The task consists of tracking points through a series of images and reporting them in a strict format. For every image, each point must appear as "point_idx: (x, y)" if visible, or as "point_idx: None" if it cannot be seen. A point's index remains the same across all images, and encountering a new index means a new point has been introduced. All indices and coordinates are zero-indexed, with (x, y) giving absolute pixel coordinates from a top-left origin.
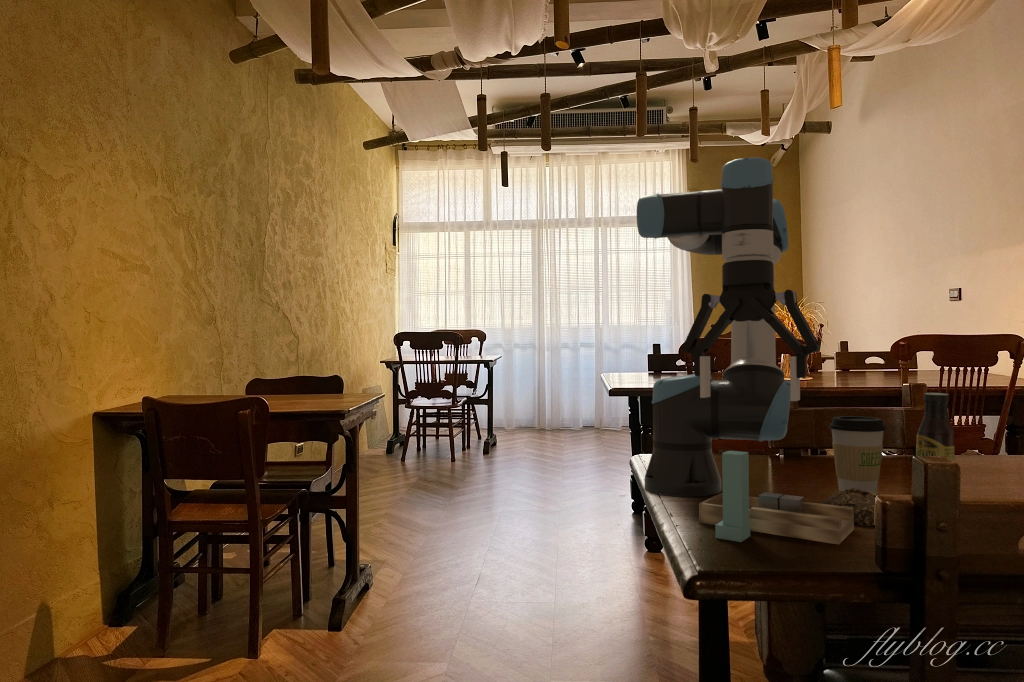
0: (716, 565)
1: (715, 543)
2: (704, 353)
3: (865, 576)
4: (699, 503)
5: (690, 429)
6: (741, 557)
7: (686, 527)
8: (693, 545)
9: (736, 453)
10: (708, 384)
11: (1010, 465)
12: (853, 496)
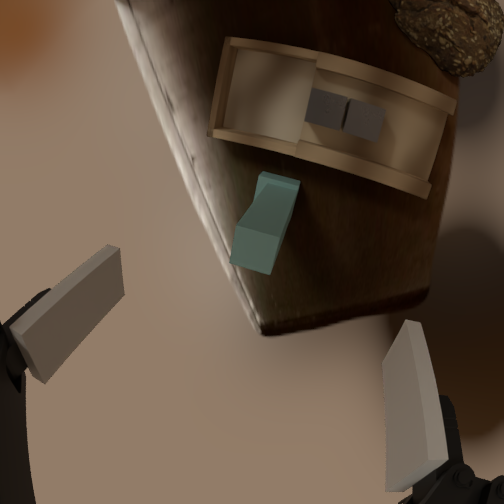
0: (274, 308)
1: None
2: (7, 346)
3: (417, 301)
4: (207, 135)
5: None
6: (297, 277)
7: (207, 165)
8: None
9: (257, 261)
10: (96, 286)
11: None
12: (456, 20)
